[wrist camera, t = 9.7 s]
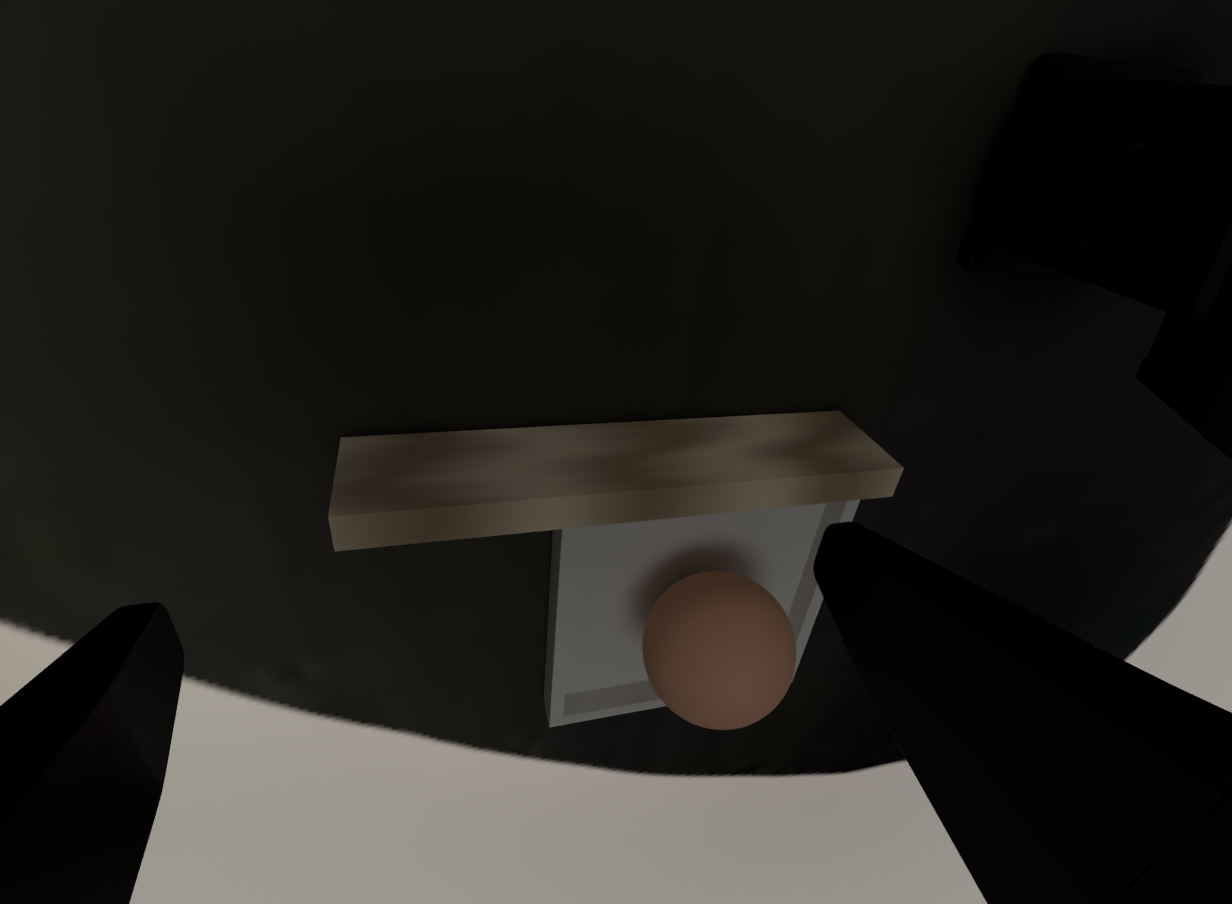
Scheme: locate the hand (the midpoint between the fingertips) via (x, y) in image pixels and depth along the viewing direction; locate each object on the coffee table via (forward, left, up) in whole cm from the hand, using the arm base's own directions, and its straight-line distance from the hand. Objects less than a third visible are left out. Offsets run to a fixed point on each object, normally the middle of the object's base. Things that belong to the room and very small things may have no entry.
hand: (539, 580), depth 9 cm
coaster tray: (-9, +13, -12) cm, 20 cm away
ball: (-9, +13, -12) cm, 20 cm away
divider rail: (-5, +5, -12) cm, 14 cm away
